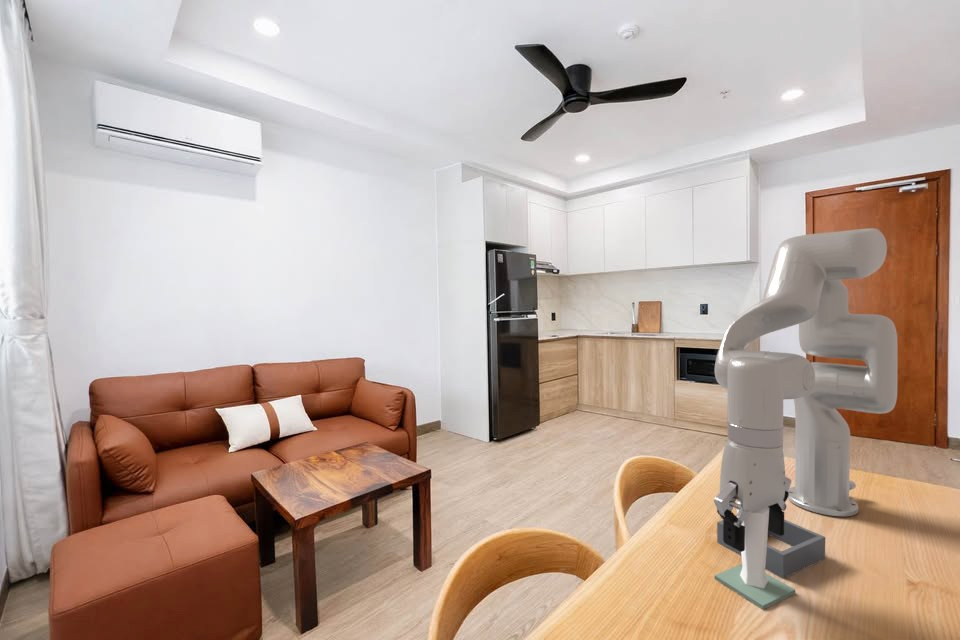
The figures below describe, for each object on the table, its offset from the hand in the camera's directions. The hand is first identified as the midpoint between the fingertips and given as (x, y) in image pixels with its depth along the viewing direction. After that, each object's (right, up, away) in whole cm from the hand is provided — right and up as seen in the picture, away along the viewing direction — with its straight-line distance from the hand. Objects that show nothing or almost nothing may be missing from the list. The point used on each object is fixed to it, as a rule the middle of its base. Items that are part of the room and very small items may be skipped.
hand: (754, 539), depth 70 cm
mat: (0, -8, 0) cm, 8 cm away
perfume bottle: (+1, -7, +1) cm, 7 cm away
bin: (+9, -7, +10) cm, 15 cm away
